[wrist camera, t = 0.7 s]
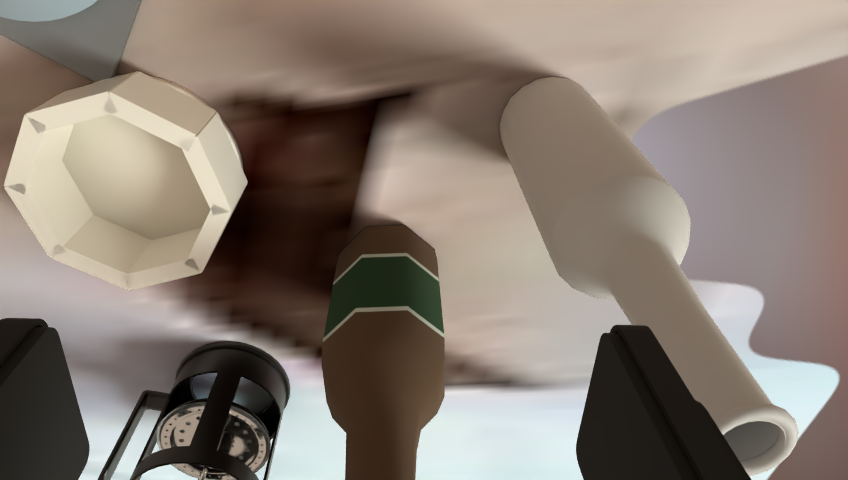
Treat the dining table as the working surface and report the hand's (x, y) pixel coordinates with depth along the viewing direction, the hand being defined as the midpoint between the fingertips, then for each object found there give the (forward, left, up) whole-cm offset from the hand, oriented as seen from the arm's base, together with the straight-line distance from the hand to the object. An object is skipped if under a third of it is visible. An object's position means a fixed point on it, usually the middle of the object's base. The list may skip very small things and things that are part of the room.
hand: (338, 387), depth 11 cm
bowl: (+16, -9, -32) cm, 37 cm away
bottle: (0, +13, -32) cm, 34 cm away
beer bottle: (+15, +9, -32) cm, 36 cm away
